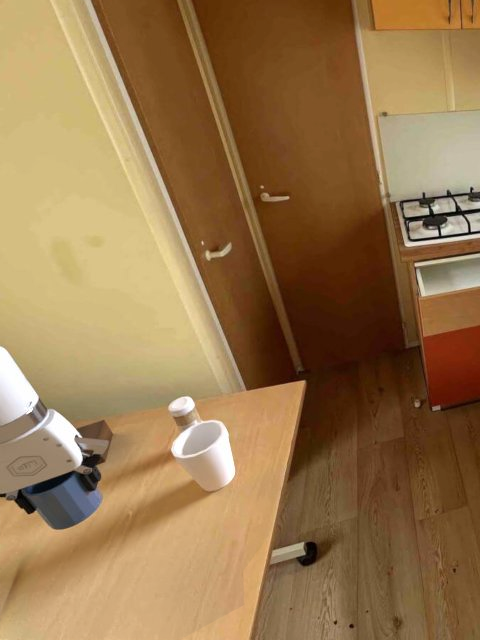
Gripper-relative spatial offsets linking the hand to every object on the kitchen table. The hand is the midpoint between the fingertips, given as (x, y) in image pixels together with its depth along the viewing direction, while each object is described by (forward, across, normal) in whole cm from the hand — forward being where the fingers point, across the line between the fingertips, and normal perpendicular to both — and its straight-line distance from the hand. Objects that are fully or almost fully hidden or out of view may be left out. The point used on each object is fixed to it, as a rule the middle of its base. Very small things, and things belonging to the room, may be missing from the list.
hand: (65, 494), depth 71 cm
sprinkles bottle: (+19, +13, +21) cm, 31 cm away
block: (+19, -10, +31) cm, 38 cm away
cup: (+4, 0, 0) cm, 4 cm away
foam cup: (+19, +17, +8) cm, 27 cm away
